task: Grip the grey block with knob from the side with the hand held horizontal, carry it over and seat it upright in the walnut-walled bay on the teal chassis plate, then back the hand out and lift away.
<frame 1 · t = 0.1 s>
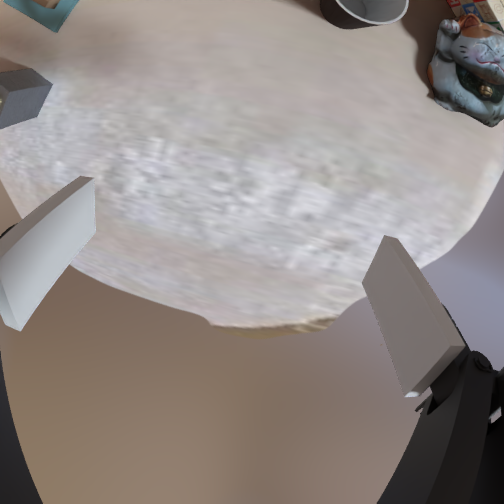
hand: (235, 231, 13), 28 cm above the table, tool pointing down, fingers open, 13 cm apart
coffee mug: (353, 6, 26), on the table
grey block with knob: (34, 92, 32), on the table
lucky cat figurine: (455, 70, 29), on the table, touching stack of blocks
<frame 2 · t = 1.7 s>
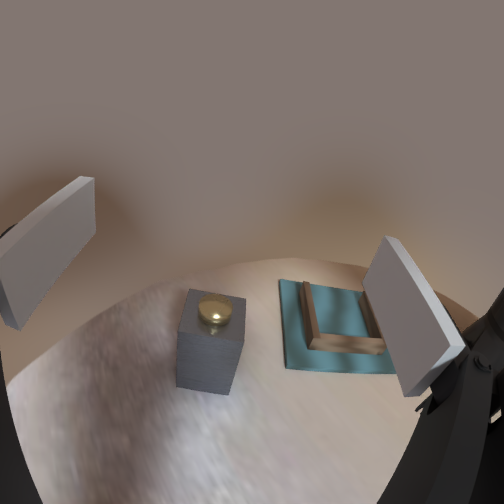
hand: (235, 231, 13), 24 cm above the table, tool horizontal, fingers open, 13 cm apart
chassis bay: (337, 326, 45), on the table
grey block with knob: (205, 371, 34), on the table
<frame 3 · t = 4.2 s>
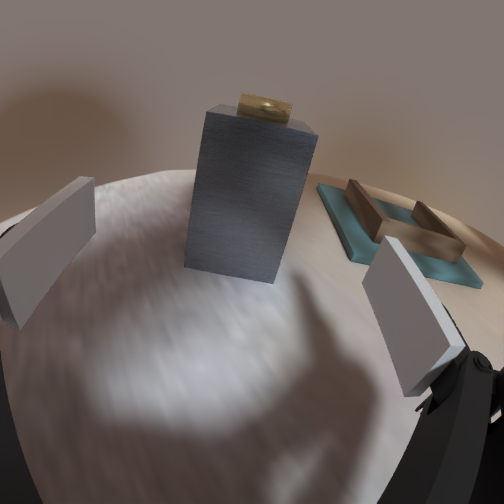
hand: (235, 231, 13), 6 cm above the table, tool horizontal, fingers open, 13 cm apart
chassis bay: (396, 233, 33), on the table
grey block with knob: (232, 251, 22), on the table
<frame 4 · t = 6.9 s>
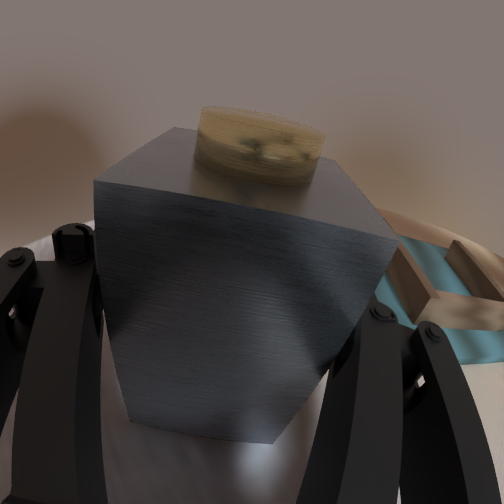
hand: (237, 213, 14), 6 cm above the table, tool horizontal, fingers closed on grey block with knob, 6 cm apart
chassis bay: (432, 290, 24), on the table
grey block with knob: (208, 379, 13), on the table, touching gripper
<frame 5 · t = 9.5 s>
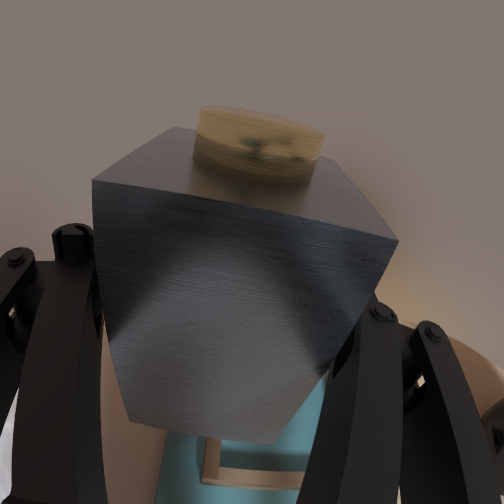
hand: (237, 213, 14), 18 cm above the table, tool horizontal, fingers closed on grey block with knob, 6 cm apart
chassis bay: (276, 430, 23), on the table
grey block with knob: (207, 379, 13), point 12 cm above the table, touching gripper
when the fingers open (8 cm above the table, at t = 12.3 s): grey block with knob drops 2 cm, resting on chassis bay.
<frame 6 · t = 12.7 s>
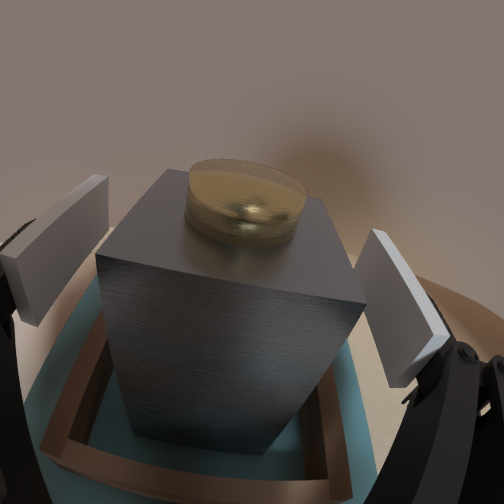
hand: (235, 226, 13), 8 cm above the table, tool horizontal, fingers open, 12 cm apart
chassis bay: (203, 402, 14), on the table
grey block with knob: (204, 396, 14), point 1 cm above the table, touching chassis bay
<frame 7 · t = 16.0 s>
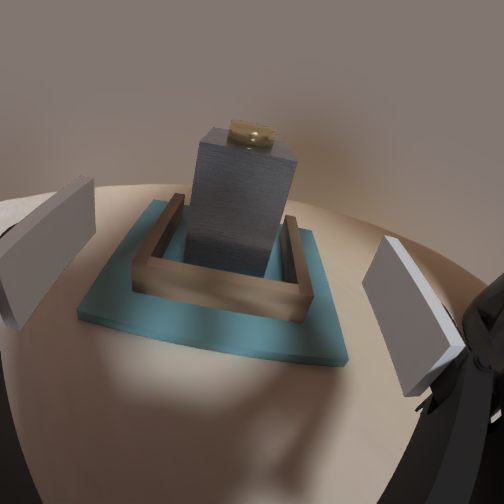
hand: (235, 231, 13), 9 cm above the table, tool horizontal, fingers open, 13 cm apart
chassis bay: (223, 267, 25), on the table
grey block with knob: (224, 260, 25), point 1 cm above the table, touching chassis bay
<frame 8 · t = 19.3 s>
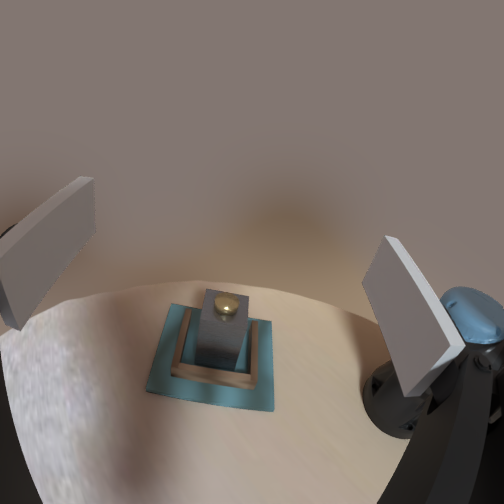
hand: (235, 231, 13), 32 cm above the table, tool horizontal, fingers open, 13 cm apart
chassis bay: (215, 355, 45), on the table
grey block with knob: (216, 352, 44), point 1 cm above the table, touching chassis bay
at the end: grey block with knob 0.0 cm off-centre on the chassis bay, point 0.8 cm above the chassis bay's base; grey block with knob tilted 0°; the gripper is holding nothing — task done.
